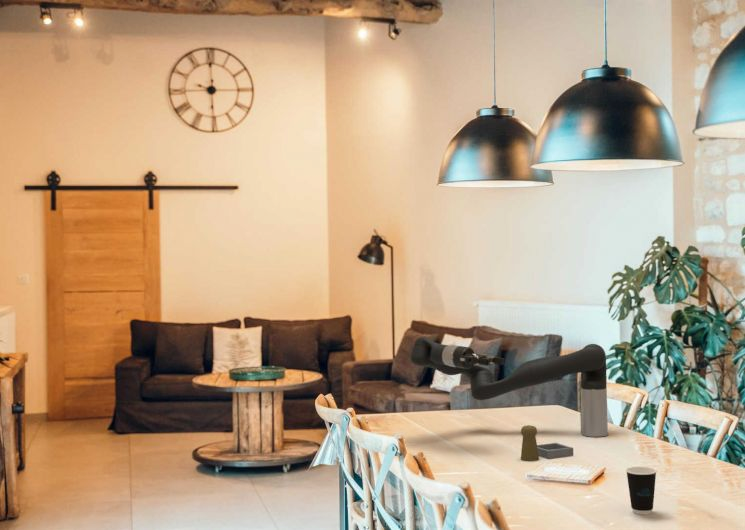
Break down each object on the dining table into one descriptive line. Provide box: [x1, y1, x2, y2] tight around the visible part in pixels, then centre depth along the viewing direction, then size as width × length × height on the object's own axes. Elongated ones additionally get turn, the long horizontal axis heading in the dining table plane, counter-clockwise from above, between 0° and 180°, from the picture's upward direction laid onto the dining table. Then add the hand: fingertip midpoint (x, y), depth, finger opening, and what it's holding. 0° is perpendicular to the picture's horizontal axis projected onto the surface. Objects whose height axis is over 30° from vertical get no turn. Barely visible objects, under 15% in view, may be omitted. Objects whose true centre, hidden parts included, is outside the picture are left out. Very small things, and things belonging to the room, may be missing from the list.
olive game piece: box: [520, 424, 540, 462], centre depth 315 cm, size 6×6×11 cm
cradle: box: [537, 442, 574, 460], centre depth 320 cm, size 10×10×3 cm
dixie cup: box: [625, 466, 658, 515], centre depth 249 cm, size 8×8×11 cm
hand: (496, 362), depth 324 cm, fingers open, 8 cm apart
